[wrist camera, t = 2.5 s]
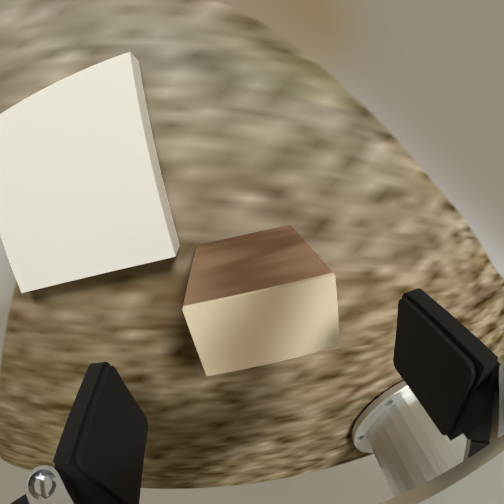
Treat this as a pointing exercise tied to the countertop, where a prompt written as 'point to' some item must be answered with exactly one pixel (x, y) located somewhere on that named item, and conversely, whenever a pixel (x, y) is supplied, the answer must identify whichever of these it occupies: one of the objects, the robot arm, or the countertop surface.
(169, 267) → the countertop surface
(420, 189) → the countertop surface
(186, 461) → the countertop surface
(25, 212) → the cutting board
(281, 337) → the two-tone wooden block
